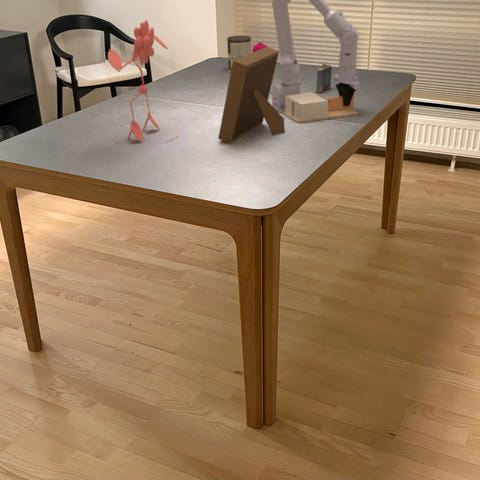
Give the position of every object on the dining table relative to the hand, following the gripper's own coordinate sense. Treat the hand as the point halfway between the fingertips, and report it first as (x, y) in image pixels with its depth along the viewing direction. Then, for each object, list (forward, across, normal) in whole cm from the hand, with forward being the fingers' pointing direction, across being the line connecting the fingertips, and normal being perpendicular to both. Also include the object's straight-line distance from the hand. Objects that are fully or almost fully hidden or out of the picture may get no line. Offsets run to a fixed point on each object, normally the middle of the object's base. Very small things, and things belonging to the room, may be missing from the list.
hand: (345, 105), depth 214 cm
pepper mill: (+2, +35, +17) cm, 39 cm away
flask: (+2, +27, -6) cm, 28 cm away
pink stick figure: (+2, +1, +68) cm, 68 cm away
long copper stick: (+1, 0, +7) cm, 7 cm away
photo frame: (+2, -11, +38) cm, 40 cm away
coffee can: (+2, +73, +11) cm, 74 cm away
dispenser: (+2, 0, +10) cm, 10 cm away
